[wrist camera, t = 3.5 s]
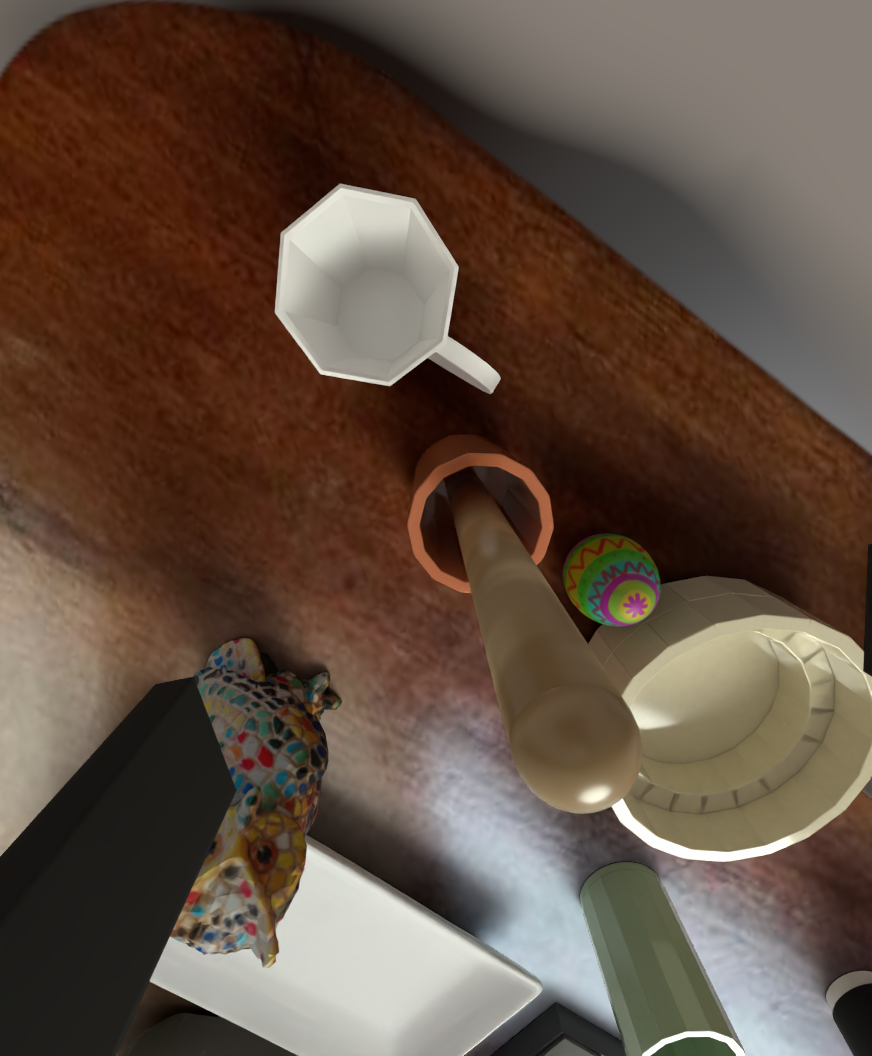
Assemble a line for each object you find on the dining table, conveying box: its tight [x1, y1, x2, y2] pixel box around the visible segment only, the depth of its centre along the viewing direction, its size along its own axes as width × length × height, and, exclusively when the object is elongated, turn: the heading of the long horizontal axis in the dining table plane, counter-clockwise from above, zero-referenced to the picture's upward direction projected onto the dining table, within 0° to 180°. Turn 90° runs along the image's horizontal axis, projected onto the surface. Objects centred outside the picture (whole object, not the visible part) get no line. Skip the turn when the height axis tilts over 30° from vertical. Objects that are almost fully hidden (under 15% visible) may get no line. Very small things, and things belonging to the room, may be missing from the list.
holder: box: [407, 434, 554, 593], centre depth 24 cm, size 6×6×9 cm
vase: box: [580, 862, 745, 1056], centre depth 32 cm, size 6×6×10 cm
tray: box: [150, 835, 543, 1056], centre depth 35 cm, size 17×31×4 cm, turn 50°
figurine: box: [170, 637, 342, 968], centre depth 25 cm, size 9×9×15 cm
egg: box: [563, 533, 661, 627], centre depth 27 cm, size 5×5×6 cm
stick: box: [447, 472, 642, 814], centre depth 17 cm, size 2×2×22 cm
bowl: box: [588, 576, 872, 862], centre depth 30 cm, size 16×16×6 cm
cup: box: [275, 184, 501, 394], centre depth 22 cm, size 7×10×8 cm
